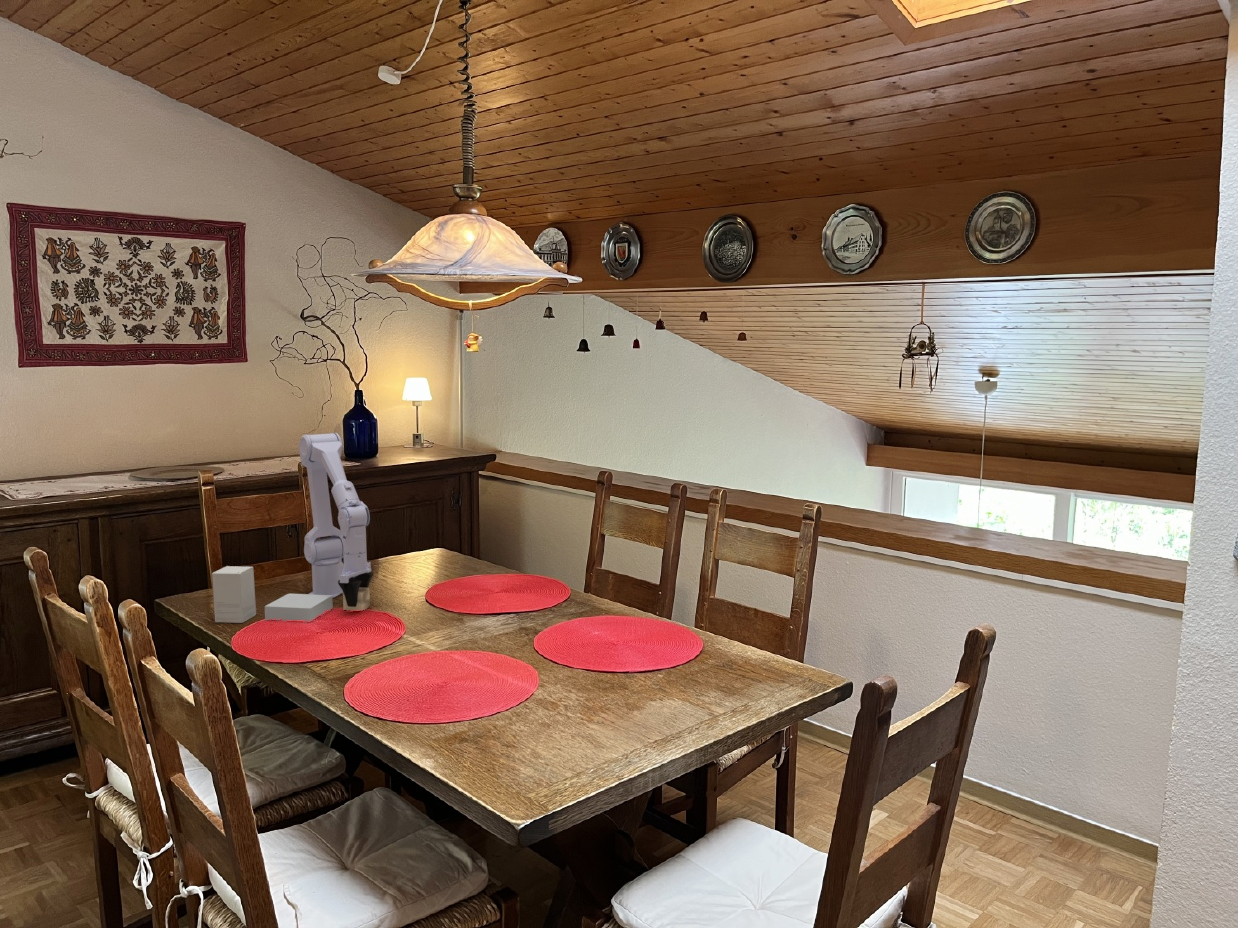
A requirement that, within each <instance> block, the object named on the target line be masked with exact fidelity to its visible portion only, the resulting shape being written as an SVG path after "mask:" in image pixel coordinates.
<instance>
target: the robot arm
mask: <svg viewBox="0 0 1238 928" xmlns="http://www.w3.org/2000/svg"><path fill="white" fill-rule="evenodd" d="M298 451H299V460H300V464H301V466H303V467H306V471H307V481H308V488H309V490H308V491H309V496H310V506H311V507H310V508H311V513H312V523H313V527H312V529H310V530H309V532H307V533H306V534H305V536H304V547H303V553H304V558H305V560H306V561H307V562H308V563H309V564H311V575H312V579H311V580H312V582H311V583H312V591H311V592H309V593H308V594H312V595H332V599H333V598H336V597H338V596H339V595H342V594H343V593H344V596H345V599H346V602H347V605H348V607H356V605H357V599H358V590H359V587H362V588H369V585H370V582H371V580H372V578H373V576H374V573H373V571H372V566H371V561H369V562H368V559H367V558H368V557H367V554H368V553H367V530H366V529H367V527H368V526H369V525H370V520H371V517H370V516H371V515H370V510H369V508H368V506H367V505H366V504H365V503H364V502H363V501H362V500H360V498H359V496H358V495H359V494H358V493H357V491H356V488H355V486H354V483H352V481H349V480H347V476H346V473H345V470H344V465H343V462H342V460H341V456H342V453H343V441H342V437H341V436H340V435H339V433H338V432H333V433H332V432H331V433H318V434H315V433H314V434H303V435H302V436H301V438H300V440H299V443H298ZM328 478H329V479H330V481H331V483H332V485H333V486H332V487H331V494H332V497H333V499H334V502H335V505H336V507H337V509H338V513H337V515H338V516H337V521H338V525H339V528H340V529H339V528H337V527H335V526H334V524H333V517H332V516H333V515H332V508H331V497H330V491H329V482H328ZM329 536H330V537H329ZM323 537H324V538H323ZM342 559H343V560H342Z"/></svg>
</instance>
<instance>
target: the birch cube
mask: <svg viewBox="0 0 1238 928" xmlns="http://www.w3.org/2000/svg"><path fill="white" fill-rule="evenodd" d="M370 597H371V595H370V587H368V588H362V587H359V590H358V599H357V605H356V607H348V605H347V602H346V599H345V596H344V593H342V602H343V603H342V606H343V607H342V609H343V610H364V611H366V610H367V609H368V608H370V607H371V600H370V599H371V598H370ZM365 609H366V610H365Z"/></svg>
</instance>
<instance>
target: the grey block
mask: <svg viewBox="0 0 1238 928" xmlns="http://www.w3.org/2000/svg"><path fill="white" fill-rule="evenodd" d="M333 606H334V605H333V598H332V595H312V594H309V593H308V594H306V593H287V594H285V595H283V596H281V597H279V598H278V599H276V600H274V601H272V602H270V603H268V604H266V605H265V606H264V619H265V621H267V620H270V619H272V620H273V619H276V620H279V619H282V620H305V621H311V620H313V619H315V618H316V617H317V616H318V615H321V614H322V613H324V612H325V611H326V610H330V609H332V610H333V608H334V607H333ZM330 611H331V610H330Z"/></svg>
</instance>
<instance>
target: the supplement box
mask: <svg viewBox="0 0 1238 928" xmlns="http://www.w3.org/2000/svg"><path fill="white" fill-rule="evenodd" d="M211 578H212V579H211V580H212V594H213V609H214V610H213V612H214V622H215V623H229V624H230V623H232V624H233V623H234V624H243V623H245V622H247V621H249V620H250V619H252V618H253V617H255V616H256V615H257V607H256V606H257V605H256V591H255V590H256V588H255V574H254V566H236V565H235V566H230V565H226V566H223V567H222V568H220V569H218V570H216V571H213V572H212V573H211Z"/></svg>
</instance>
